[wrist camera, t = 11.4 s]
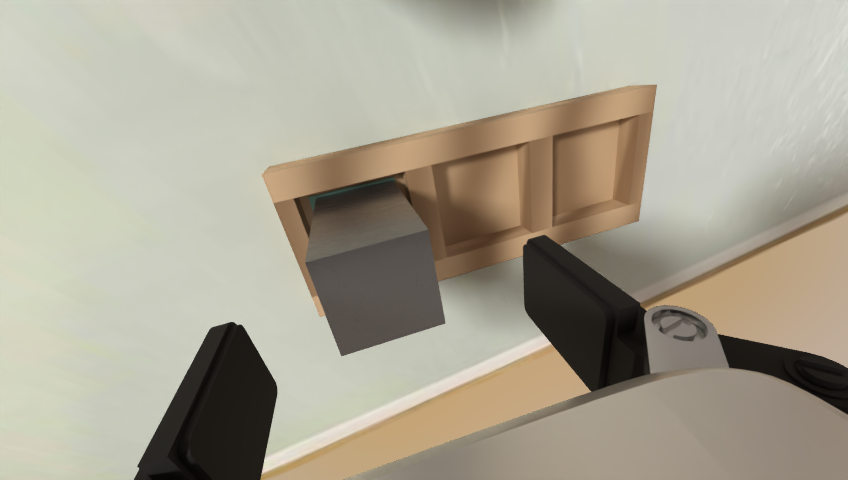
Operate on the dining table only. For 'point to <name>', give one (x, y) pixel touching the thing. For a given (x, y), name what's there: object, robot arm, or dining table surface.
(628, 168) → the tray
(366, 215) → the block
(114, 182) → the dining table surface
